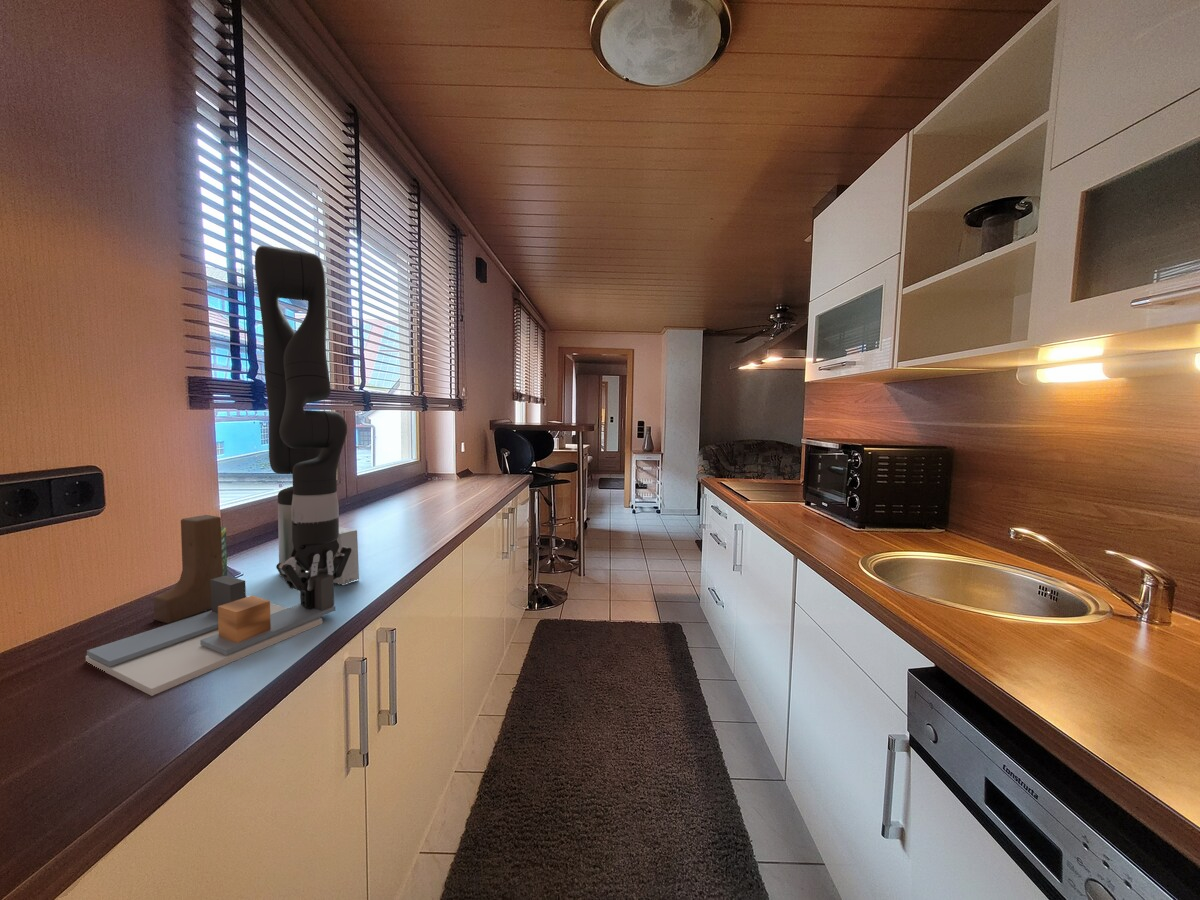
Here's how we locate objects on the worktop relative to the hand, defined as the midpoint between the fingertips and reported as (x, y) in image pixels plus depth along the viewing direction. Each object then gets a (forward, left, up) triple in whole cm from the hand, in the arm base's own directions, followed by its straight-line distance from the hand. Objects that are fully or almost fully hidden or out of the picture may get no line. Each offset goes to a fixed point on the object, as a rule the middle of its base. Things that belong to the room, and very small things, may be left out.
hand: (316, 604), depth 86 cm
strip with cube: (+8, 0, -1) cm, 8 cm away
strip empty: (+17, -11, -1) cm, 20 cm away
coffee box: (+2, -30, -2) cm, 30 cm away
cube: (+12, 0, 0) cm, 12 cm away
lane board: (+14, -6, -2) cm, 15 cm away
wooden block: (+10, -22, -2) cm, 24 cm away
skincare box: (-14, -12, -2) cm, 19 cm away
